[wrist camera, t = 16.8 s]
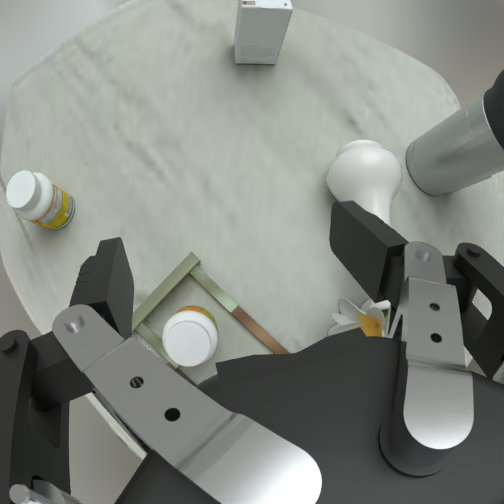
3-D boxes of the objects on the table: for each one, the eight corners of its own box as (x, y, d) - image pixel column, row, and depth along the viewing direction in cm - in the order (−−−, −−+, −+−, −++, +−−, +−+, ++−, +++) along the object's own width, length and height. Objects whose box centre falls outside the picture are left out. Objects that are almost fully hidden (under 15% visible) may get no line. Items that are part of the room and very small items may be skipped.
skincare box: (272, 45, 41) (290, -11, 29) (276, 66, 40) (296, 10, 28) (231, 44, 40) (239, -15, 28) (233, 66, 40) (242, 6, 28)
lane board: (340, 391, 37) (349, 398, 34) (243, 481, 35) (246, 493, 32) (193, 254, 37) (191, 251, 34) (93, 359, 34) (85, 365, 31)
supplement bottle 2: (226, 324, 36) (232, 340, 27) (197, 359, 36) (194, 386, 26) (189, 295, 36) (182, 301, 27) (161, 331, 35) (144, 348, 26)
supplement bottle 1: (82, 210, 35) (48, 190, 26) (53, 238, 34) (13, 226, 25) (63, 180, 35) (28, 154, 26) (34, 207, 34) (-5, 188, 25)
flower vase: (304, 195, 46) (321, 373, 38) (317, 104, 29) (359, 380, 20) (387, 192, 46) (415, 360, 37) (431, 110, 28) (497, 350, 20)
